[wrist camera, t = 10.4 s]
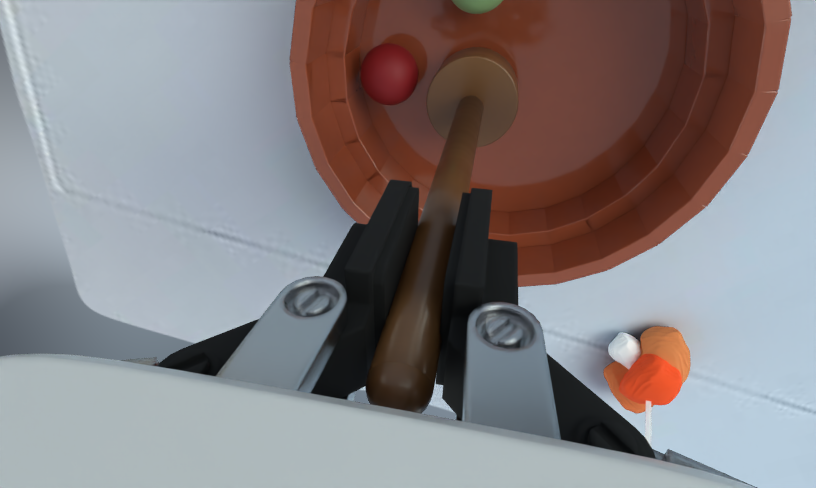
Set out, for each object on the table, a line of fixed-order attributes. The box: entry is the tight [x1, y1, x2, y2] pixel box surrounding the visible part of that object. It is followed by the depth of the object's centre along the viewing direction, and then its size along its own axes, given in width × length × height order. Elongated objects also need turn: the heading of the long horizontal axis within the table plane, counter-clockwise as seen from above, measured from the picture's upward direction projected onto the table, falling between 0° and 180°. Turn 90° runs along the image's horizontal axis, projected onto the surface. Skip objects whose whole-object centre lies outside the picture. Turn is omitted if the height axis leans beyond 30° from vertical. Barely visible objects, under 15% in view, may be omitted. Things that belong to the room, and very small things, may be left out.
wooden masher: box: [366, 47, 519, 413], centre depth 15 cm, size 4×4×19 cm
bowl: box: [290, 0, 792, 287], centre depth 21 cm, size 20×20×6 cm
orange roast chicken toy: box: [604, 326, 690, 446], centre depth 28 cm, size 6×10×12 cm, turn 166°
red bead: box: [360, 43, 418, 105], centre depth 23 cm, size 3×3×3 cm
